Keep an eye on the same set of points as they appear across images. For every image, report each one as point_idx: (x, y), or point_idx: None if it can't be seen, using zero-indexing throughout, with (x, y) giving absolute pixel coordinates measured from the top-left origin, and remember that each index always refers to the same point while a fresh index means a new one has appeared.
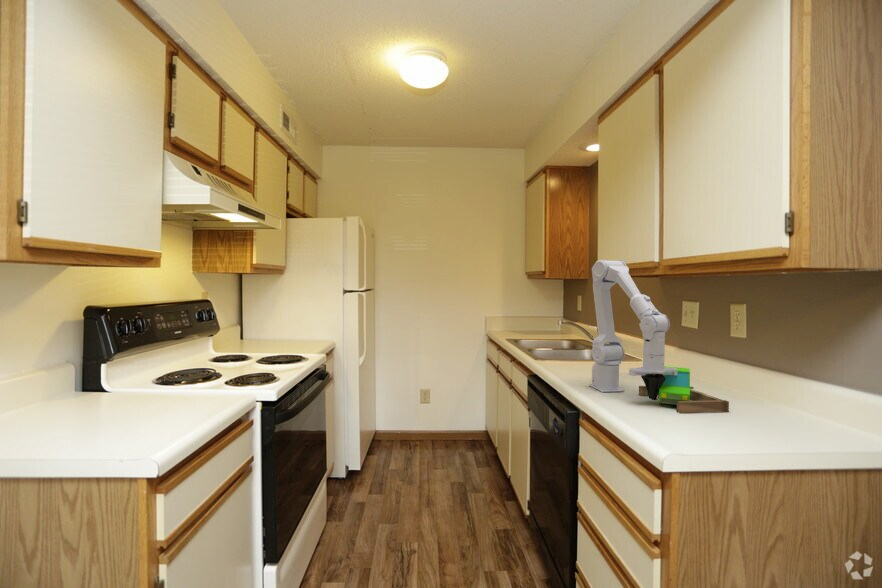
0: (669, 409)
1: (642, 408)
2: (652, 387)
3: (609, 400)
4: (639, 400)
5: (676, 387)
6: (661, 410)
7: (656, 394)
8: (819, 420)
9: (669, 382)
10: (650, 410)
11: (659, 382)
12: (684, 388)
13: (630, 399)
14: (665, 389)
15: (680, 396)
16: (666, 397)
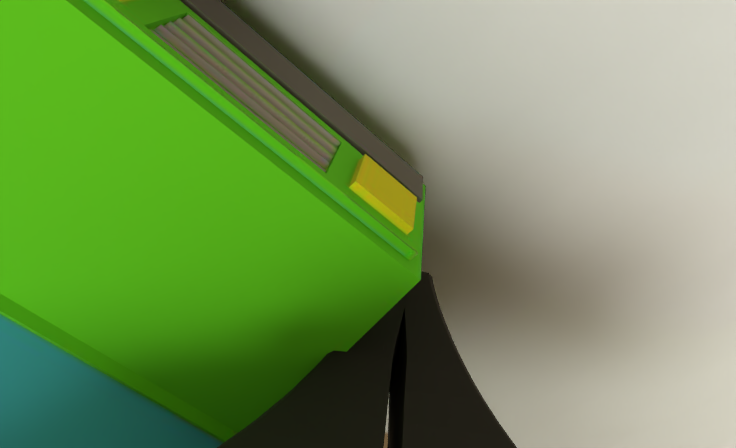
0: (384, 38)
1: (698, 153)
2: (476, 390)
3: (731, 430)
4: None
5: (50, 299)
6: (533, 18)
7: None
8: None
9: (87, 431)
10: (689, 51)
11: (348, 442)
12: None
13: (501, 401)
14: (274, 298)
15: (160, 25)
16: (357, 157)
